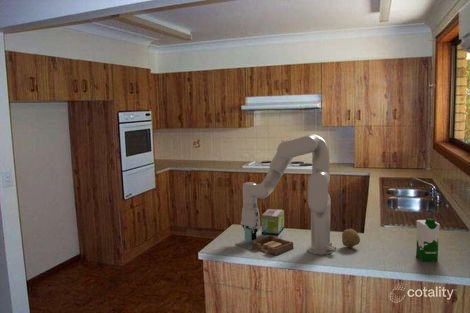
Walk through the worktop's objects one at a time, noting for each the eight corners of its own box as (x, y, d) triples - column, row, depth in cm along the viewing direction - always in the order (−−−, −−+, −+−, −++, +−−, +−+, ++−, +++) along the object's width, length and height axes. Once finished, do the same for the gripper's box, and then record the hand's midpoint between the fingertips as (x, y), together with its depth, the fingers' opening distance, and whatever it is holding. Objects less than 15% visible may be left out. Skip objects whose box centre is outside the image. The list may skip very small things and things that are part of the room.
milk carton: (422, 262, 190) (423, 220, 187) (413, 255, 199) (414, 215, 196) (440, 261, 190) (442, 220, 187) (430, 254, 199) (432, 214, 196)
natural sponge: (361, 246, 213) (361, 228, 212) (357, 252, 205) (357, 232, 204) (344, 243, 217) (344, 225, 216) (339, 249, 210) (339, 230, 209)
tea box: (278, 242, 223) (278, 216, 221) (261, 240, 226) (260, 215, 224) (284, 234, 237) (284, 209, 235) (267, 232, 240) (267, 208, 238)
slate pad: (266, 244, 220) (266, 243, 220) (251, 250, 212) (251, 249, 212) (250, 239, 229) (250, 238, 229) (235, 244, 221) (235, 243, 221)
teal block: (256, 239, 220) (256, 228, 219) (250, 241, 217) (250, 230, 216) (250, 237, 223) (250, 226, 222) (244, 239, 220) (244, 228, 219)
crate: (293, 248, 212) (293, 242, 212) (275, 256, 203) (275, 249, 202) (270, 241, 224) (270, 235, 223) (252, 248, 214) (252, 242, 214)
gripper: (266, 206, 214) (266, 240, 217) (243, 201, 226) (244, 233, 229) (256, 209, 209) (257, 243, 211) (234, 204, 221) (234, 236, 224)
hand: (250, 238), depth 220 cm, fingers closed on teal block, 4 cm apart
